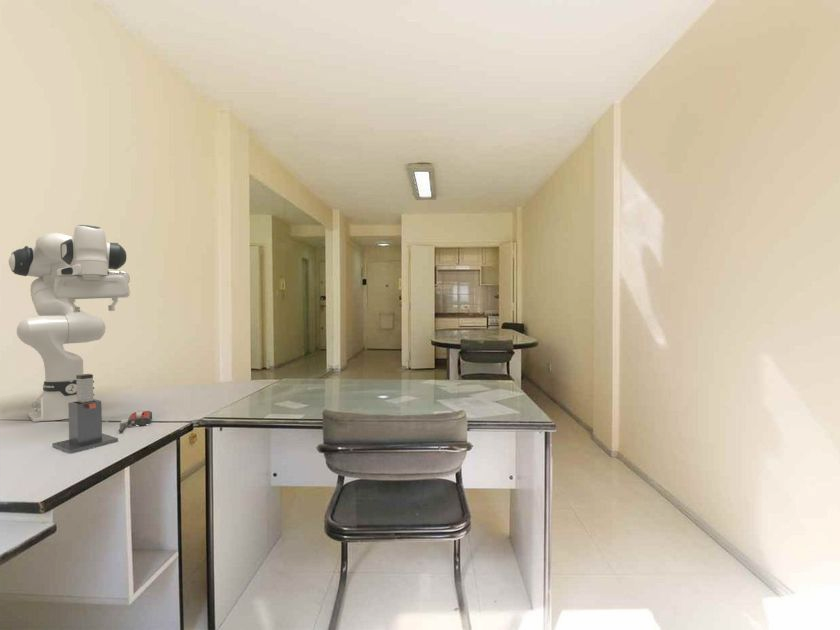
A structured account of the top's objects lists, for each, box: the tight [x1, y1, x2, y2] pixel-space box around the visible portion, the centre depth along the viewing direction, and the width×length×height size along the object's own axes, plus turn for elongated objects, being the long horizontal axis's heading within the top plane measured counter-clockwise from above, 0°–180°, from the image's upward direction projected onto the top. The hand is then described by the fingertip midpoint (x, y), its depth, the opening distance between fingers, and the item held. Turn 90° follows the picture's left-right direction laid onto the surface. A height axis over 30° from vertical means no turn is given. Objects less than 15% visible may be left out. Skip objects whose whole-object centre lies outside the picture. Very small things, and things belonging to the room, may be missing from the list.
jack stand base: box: [51, 398, 119, 454], centre depth 122 cm, size 12×12×13 cm
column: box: [76, 373, 95, 404], centre depth 122 cm, size 3×4×20 cm
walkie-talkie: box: [118, 409, 153, 433], centre depth 142 cm, size 9×4×20 cm
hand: (94, 311), depth 136 cm, fingers open, 8 cm apart
